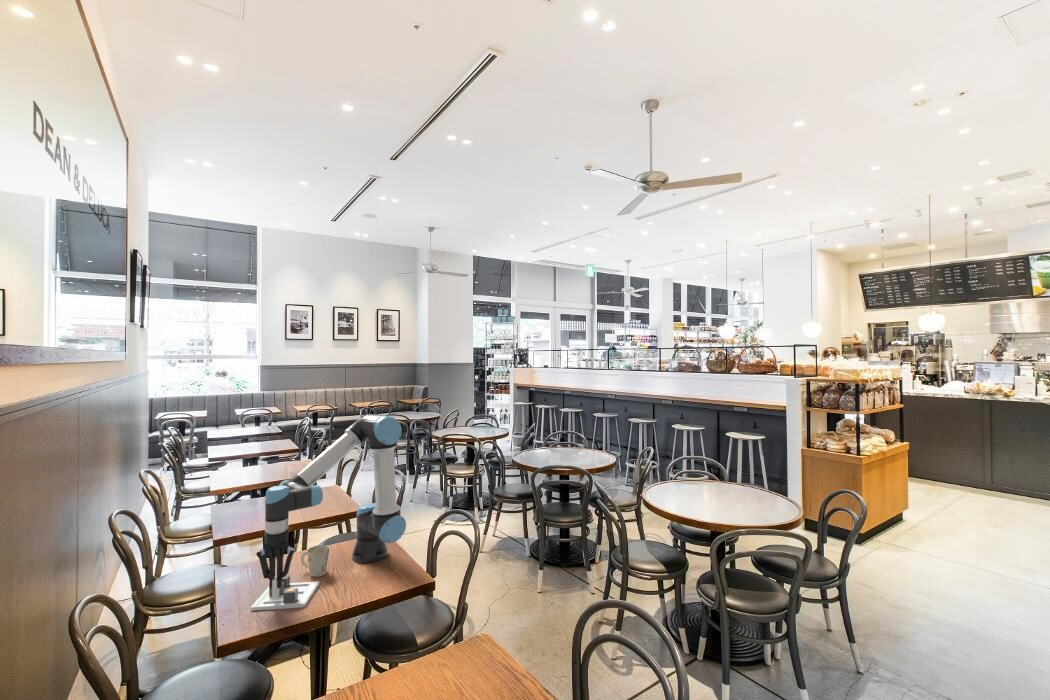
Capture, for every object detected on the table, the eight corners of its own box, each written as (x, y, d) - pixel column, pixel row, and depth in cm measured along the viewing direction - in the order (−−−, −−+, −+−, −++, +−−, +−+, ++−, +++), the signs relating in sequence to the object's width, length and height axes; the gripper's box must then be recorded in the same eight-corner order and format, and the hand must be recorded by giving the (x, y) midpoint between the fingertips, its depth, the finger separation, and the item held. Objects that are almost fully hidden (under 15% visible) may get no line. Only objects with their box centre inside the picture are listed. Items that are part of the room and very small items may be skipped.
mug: (320, 578, 187) (321, 553, 188) (293, 576, 190) (293, 551, 190) (333, 569, 195) (333, 545, 196) (306, 567, 198) (307, 543, 198)
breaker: (298, 597, 169) (298, 587, 169) (295, 602, 166) (295, 591, 166) (286, 598, 169) (286, 588, 169) (283, 602, 166) (283, 592, 166)
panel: (319, 584, 182) (319, 572, 183) (304, 607, 166) (304, 593, 166) (270, 587, 180) (270, 574, 180) (250, 610, 163) (251, 596, 163)
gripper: (299, 526, 172) (298, 590, 171) (261, 527, 170) (260, 592, 169) (292, 533, 164) (291, 600, 164) (252, 535, 163) (251, 603, 162)
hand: (275, 596), depth 167 cm, fingers closed
